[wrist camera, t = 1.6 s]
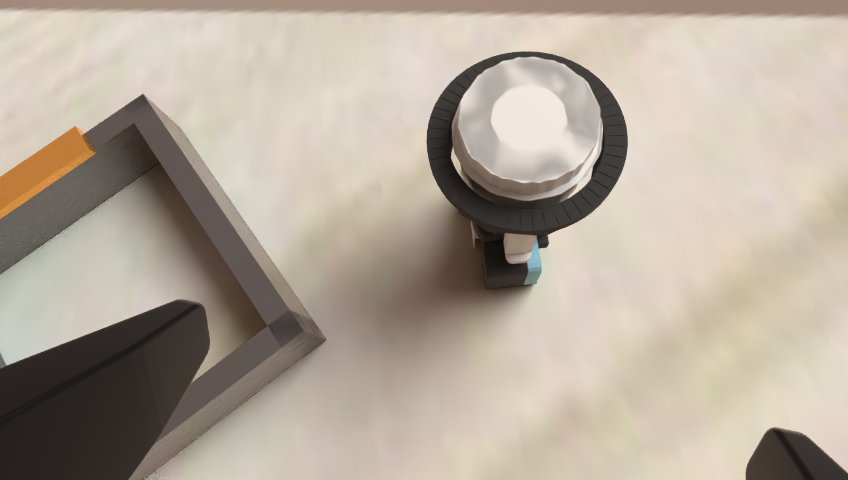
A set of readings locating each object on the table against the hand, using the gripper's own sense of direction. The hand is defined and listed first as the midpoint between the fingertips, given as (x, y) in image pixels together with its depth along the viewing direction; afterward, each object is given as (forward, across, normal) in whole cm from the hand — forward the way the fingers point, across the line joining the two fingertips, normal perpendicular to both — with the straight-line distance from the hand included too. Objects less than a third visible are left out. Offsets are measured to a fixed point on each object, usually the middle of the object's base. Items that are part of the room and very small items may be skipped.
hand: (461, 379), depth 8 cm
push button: (+15, 0, +4) cm, 15 cm away
